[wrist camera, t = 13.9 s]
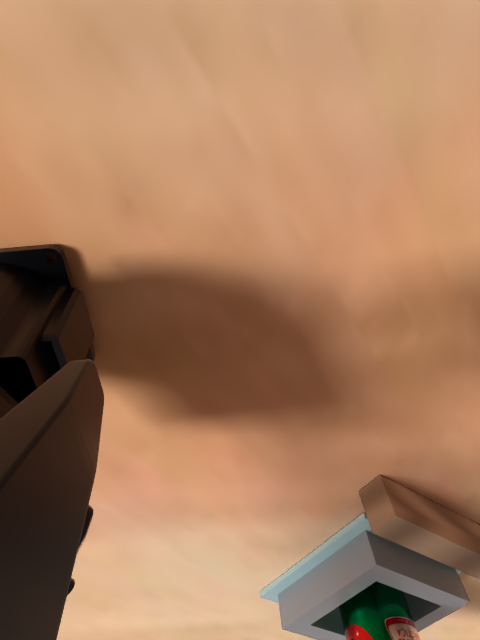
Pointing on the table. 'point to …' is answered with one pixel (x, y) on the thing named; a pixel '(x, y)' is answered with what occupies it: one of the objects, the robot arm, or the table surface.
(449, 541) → the long brown rectangular bar
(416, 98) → the table surface
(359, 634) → the soda can
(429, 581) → the socket
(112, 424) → the table surface
